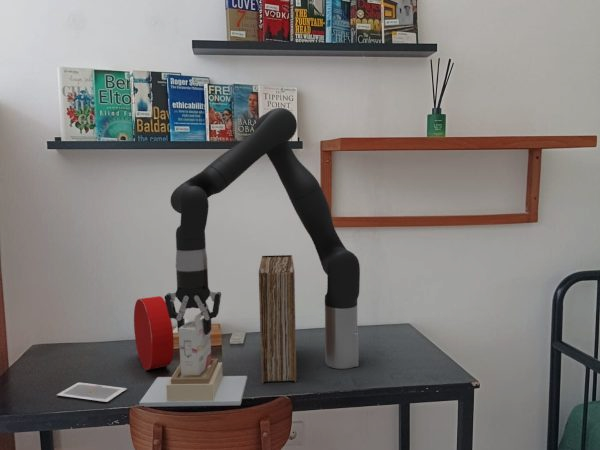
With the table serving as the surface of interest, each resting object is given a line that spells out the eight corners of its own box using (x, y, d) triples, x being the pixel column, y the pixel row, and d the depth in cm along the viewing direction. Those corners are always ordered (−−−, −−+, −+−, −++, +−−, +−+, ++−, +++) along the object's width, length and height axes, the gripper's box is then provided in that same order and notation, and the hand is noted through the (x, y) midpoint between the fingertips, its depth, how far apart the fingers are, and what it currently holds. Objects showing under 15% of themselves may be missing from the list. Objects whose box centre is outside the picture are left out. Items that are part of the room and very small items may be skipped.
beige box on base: (247, 379, 132) (246, 356, 131) (240, 405, 117) (239, 380, 116) (157, 380, 132) (156, 358, 131) (139, 406, 117) (138, 381, 116)
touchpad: (107, 406, 119) (106, 397, 118) (56, 399, 123) (55, 390, 123) (127, 392, 126) (127, 384, 126) (78, 386, 130) (78, 378, 130)
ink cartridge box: (194, 361, 129) (191, 306, 127) (212, 363, 128) (210, 307, 126) (179, 375, 120) (177, 316, 119) (198, 376, 119) (196, 316, 118)
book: (296, 383, 129) (294, 270, 126) (261, 384, 128) (258, 271, 126) (293, 349, 154) (291, 254, 151) (264, 350, 154) (261, 255, 151)
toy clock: (175, 375, 135) (172, 303, 133) (153, 380, 132) (150, 307, 130) (155, 353, 152) (152, 290, 150) (135, 357, 149) (132, 292, 147)
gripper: (223, 263, 125) (225, 328, 127) (166, 265, 125) (169, 330, 127) (218, 269, 118) (221, 338, 119) (158, 270, 118) (161, 339, 119)
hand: (194, 333), depth 123 cm, fingers closed on ink cartridge box, 5 cm apart
